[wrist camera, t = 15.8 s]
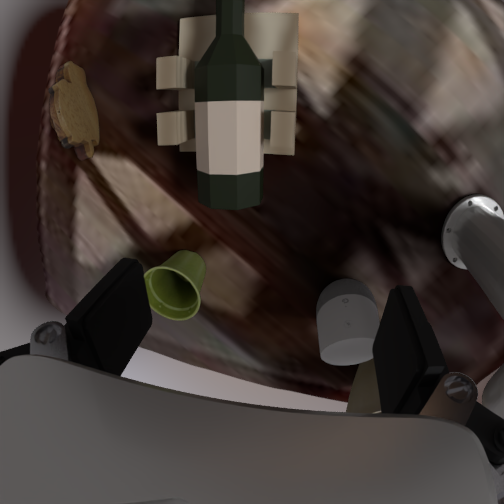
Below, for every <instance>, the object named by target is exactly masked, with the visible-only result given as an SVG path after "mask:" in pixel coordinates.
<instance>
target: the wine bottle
mask: <svg viewBox="0 0 504 504" xmlns="http://www.w3.org/2000/svg"><path fill="white" fill-rule="evenodd" d="M244 2H245V0H216V37H215V38H214V40H213V41H212V43H211V44H210V46H209V47H208V49H207V50H206V52H205V53H204V55H203V56H202V58H201V60H200V61H199V63H198V64H197V66H196V67H195V69H194V80H195V131H196V159H197V181H198V199H199V202H200V203H201V204H203V205H205V206H207V207H209V208H211V209H229V210H239V209H243V208H248V207H252V206H256V205H260V203H261V200H262V198H263V152H264V68H263V66H262V65H261V63H260V61H259V60H258V58H257V56H256V55H255V53H254V52H253V50H252V48H251V47H250V45H249V44H248V42H247V41H246V39H245V37H244Z"/></svg>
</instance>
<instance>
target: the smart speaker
mask: <svg viewBox="0 0 504 504" xmlns="http://www.w3.org/2000/svg"><path fill="white" fill-rule="evenodd" d="M316 319H317V329H318V337H319V346H320V355H321V359H322V360H323V361H325V362H326V363H329V364H332V365H354V364H359V363H362V362H366V361H368V360H370V359H372V358H373V353H372V348H373V343H374V340H375V337H376V334H377V331H378V328H379V325H380V323H379V316H378V310H377V306H376V302H375V299H374V296H373V294H372V293H371V291H370V290H369V288H368V287H367V286H366V285H364V284H363V283H361V282H360V281H357V280H354V279H340V280H337V281H334V282H332V283H331V284H329V285H328V286H327V287H326V288H325V289H324V290H323V291H322V293H321V294H320V296H319V299H318V302H317V307H316Z"/></svg>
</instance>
